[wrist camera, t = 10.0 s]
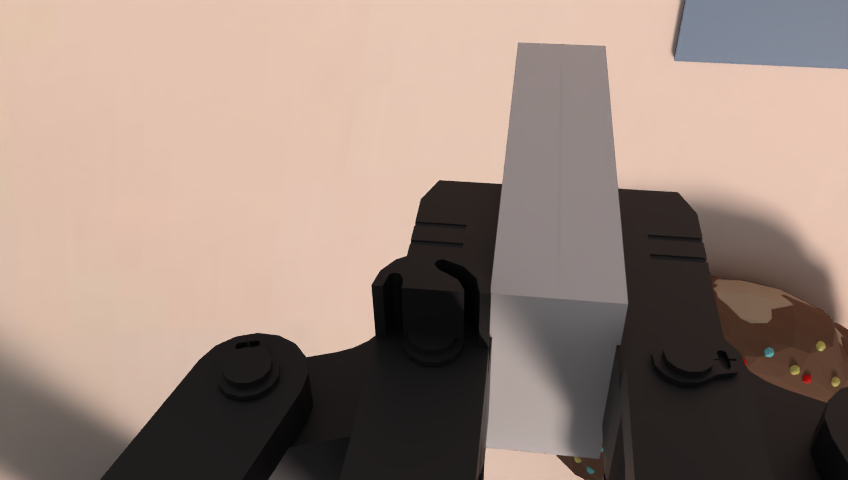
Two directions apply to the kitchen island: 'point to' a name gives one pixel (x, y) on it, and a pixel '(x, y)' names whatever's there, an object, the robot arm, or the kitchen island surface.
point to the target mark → (765, 32)
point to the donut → (769, 347)
